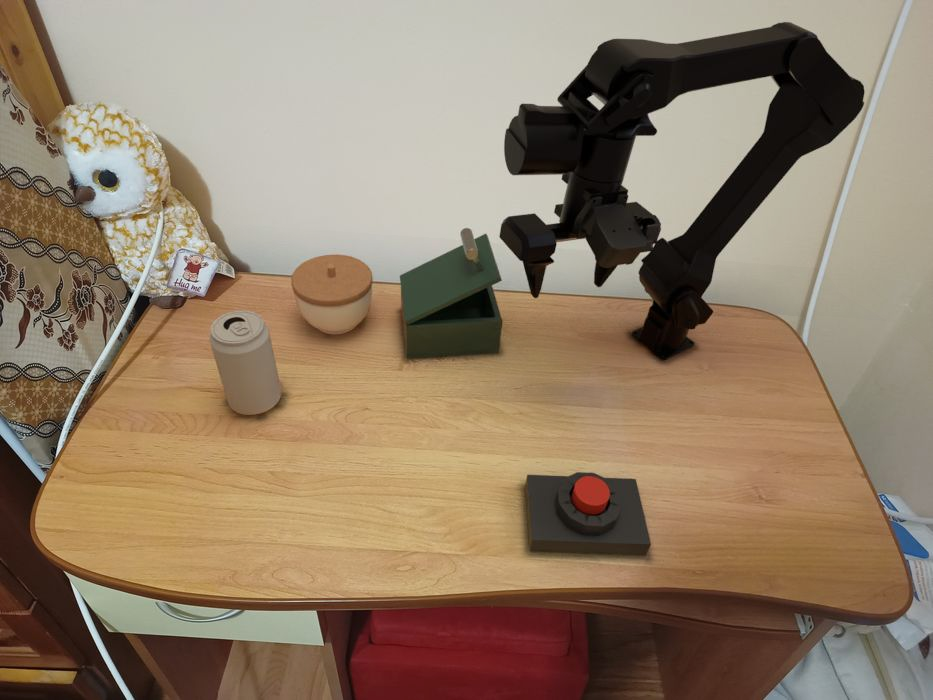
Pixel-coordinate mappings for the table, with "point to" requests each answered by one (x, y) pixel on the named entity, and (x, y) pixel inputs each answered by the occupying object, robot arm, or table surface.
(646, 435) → the table surface
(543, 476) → the panel
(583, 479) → the button
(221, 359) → the beverage can
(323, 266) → the trinket box
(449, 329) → the green box
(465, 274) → the lid
